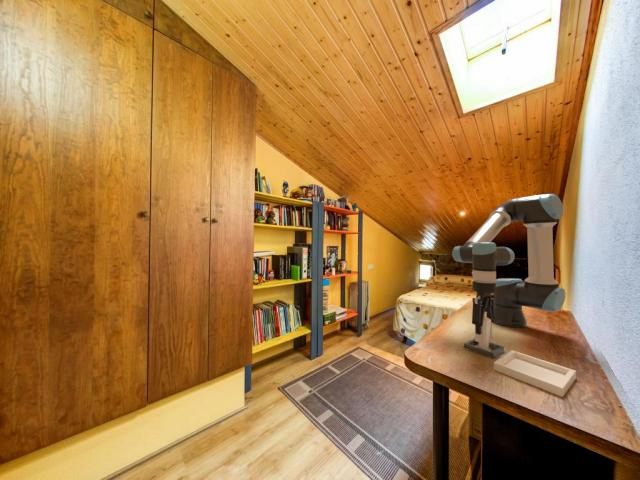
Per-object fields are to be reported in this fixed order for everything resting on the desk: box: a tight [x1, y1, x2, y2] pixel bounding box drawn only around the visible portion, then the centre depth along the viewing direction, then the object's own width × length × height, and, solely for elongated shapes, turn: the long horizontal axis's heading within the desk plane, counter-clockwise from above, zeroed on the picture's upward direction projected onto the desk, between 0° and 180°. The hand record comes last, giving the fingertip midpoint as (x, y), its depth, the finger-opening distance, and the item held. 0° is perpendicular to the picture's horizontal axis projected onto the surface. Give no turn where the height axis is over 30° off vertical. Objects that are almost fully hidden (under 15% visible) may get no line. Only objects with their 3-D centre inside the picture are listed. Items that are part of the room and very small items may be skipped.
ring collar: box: [463, 337, 505, 360], centre depth 90 cm, size 10×10×2 cm
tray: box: [493, 350, 577, 398], centre depth 74 cm, size 16×16×2 cm
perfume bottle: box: [477, 312, 491, 351], centre depth 90 cm, size 5×4×15 cm
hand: (483, 339), depth 90 cm, fingers open, 7 cm apart
